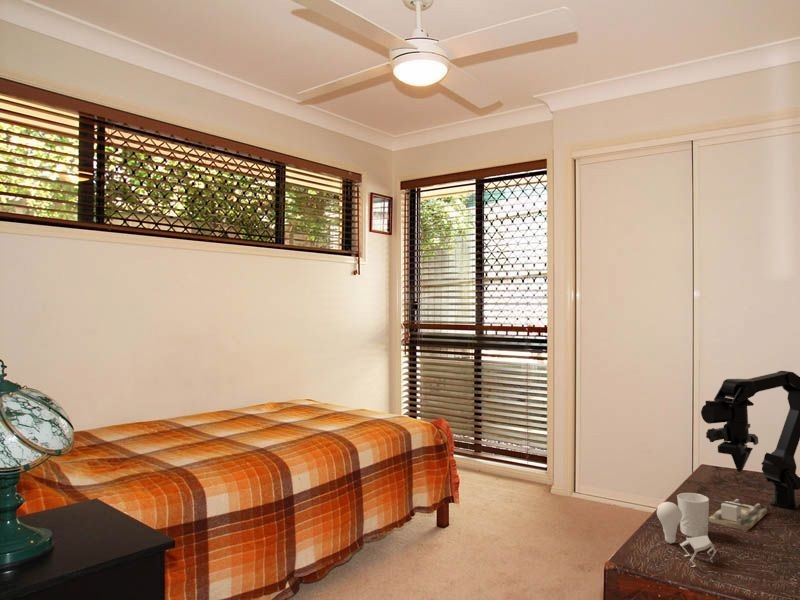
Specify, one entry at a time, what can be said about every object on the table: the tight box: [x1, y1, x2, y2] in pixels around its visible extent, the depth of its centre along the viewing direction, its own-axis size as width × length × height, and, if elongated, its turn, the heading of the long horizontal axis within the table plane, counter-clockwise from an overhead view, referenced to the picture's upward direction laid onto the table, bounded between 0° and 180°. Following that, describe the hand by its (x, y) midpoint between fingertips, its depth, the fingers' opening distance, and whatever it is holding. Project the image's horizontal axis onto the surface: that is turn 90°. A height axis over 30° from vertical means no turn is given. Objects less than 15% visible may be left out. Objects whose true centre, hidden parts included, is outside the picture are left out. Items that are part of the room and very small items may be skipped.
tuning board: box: [708, 498, 768, 532], centre depth 169 cm, size 18×10×2 cm, turn 132°
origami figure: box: [679, 535, 718, 568], centre depth 142 cm, size 12×8×5 cm
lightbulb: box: [656, 501, 682, 544], centre depth 153 cm, size 6×6×11 cm
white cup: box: [676, 492, 710, 538], centre depth 159 cm, size 8×8×10 cm
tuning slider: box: [713, 499, 749, 522], centre depth 165 cm, size 4×9×4 cm, turn 42°
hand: (739, 471), depth 174 cm, fingers closed
